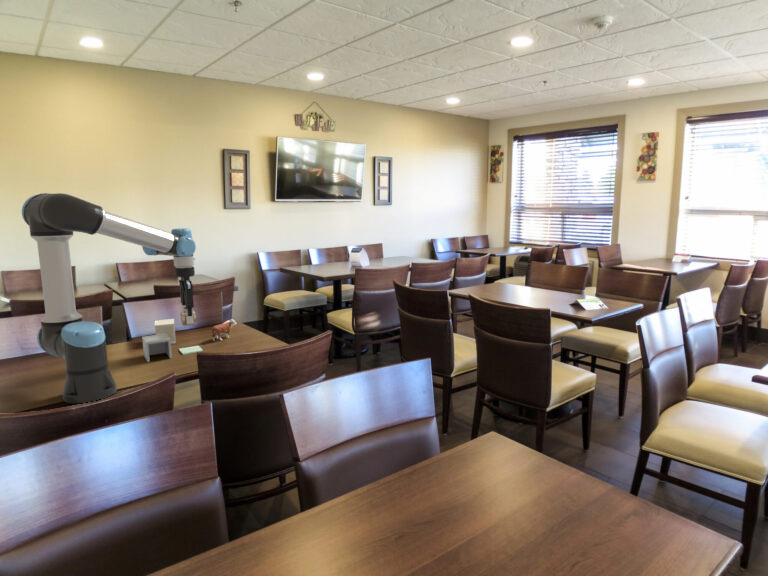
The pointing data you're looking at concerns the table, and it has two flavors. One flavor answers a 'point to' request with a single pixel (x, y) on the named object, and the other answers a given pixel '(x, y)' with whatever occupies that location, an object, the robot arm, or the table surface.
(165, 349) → the grey hood
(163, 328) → the cream hood
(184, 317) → the letter cube
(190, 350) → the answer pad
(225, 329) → the bull figurine
